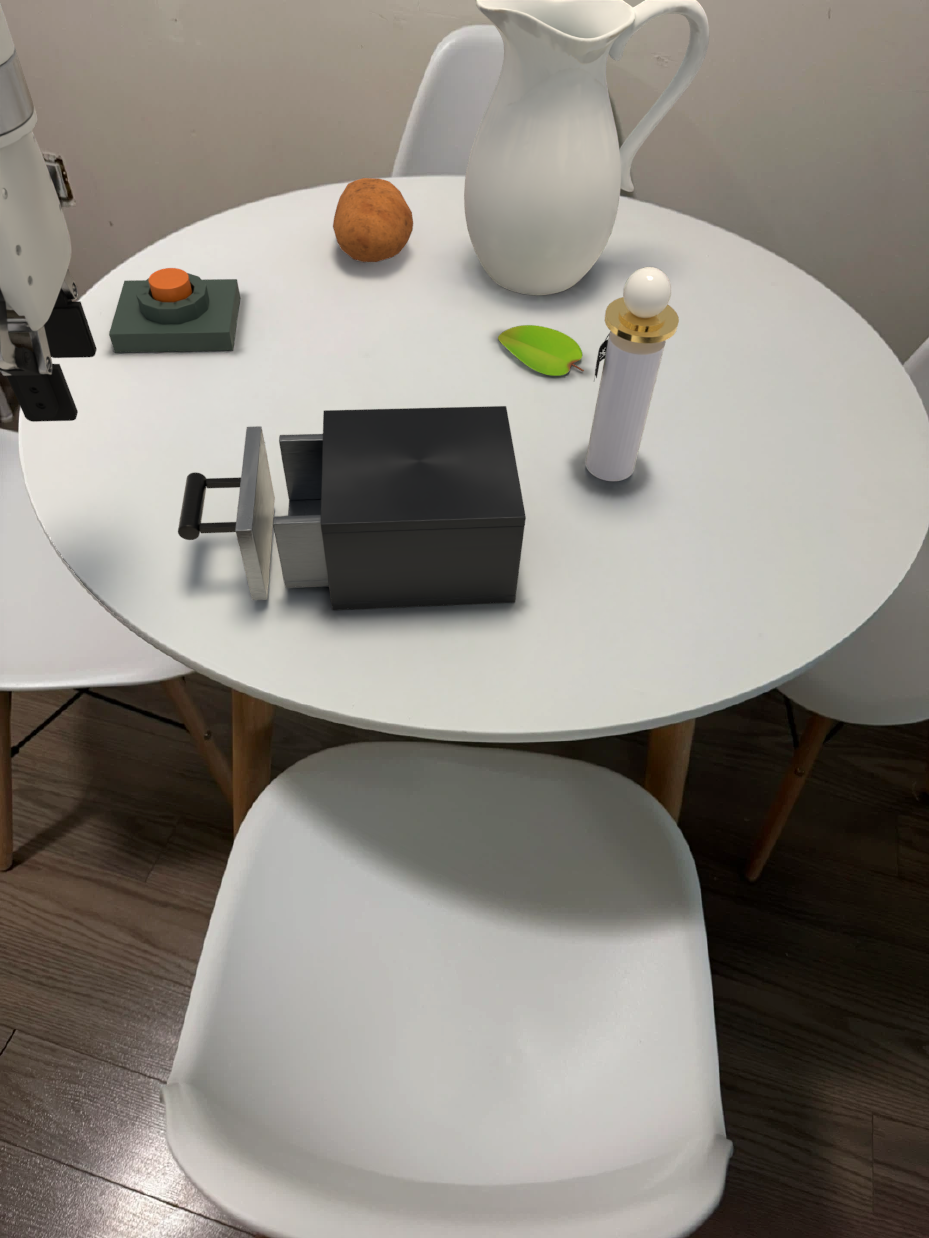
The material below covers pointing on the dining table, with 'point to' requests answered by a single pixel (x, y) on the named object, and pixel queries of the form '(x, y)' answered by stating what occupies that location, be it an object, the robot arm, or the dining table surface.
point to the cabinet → (420, 507)
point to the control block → (176, 318)
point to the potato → (372, 220)
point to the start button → (170, 285)
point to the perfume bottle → (629, 372)
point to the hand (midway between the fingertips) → (63, 383)
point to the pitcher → (560, 136)
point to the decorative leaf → (542, 348)
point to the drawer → (269, 512)
